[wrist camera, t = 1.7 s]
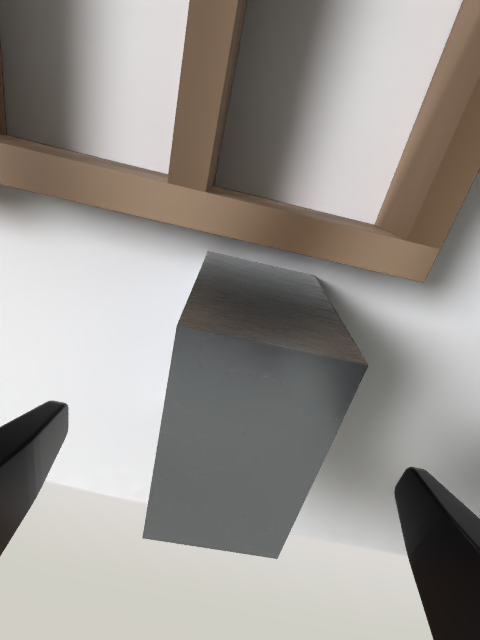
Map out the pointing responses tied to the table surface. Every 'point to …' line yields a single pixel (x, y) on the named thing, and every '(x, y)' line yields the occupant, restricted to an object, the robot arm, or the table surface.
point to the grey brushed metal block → (248, 407)
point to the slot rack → (264, 214)
